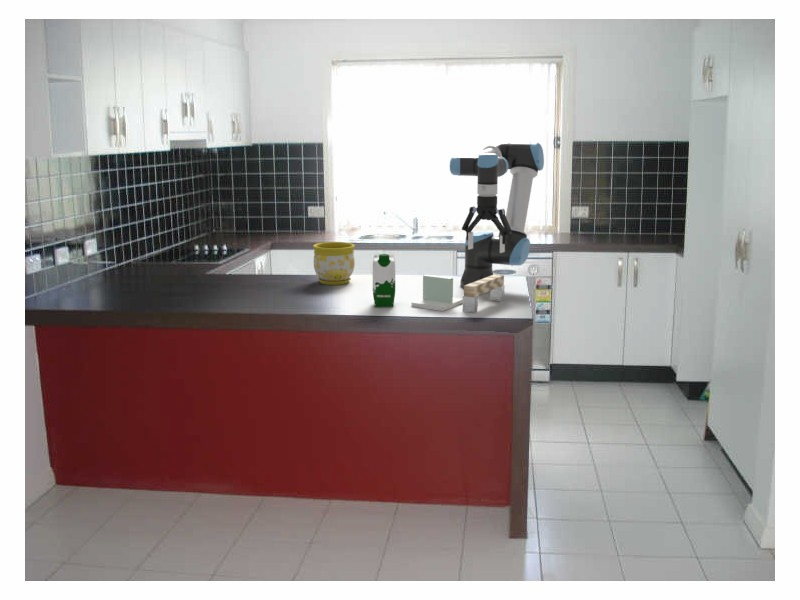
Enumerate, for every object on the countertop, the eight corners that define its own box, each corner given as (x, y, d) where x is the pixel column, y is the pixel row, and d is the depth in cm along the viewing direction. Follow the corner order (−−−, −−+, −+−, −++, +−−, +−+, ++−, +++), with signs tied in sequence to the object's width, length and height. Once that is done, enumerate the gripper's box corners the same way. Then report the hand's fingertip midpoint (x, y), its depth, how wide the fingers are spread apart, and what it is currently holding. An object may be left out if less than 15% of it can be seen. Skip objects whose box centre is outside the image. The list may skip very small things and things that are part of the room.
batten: (494, 284, 330) (494, 274, 329) (503, 285, 327) (504, 275, 327) (463, 296, 308) (463, 285, 307) (473, 297, 306) (473, 286, 305)
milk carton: (372, 307, 315) (372, 256, 311) (372, 302, 324) (372, 252, 320) (395, 307, 316) (395, 256, 311) (395, 302, 325) (395, 252, 320)
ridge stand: (432, 298, 331) (432, 271, 329) (463, 302, 324) (463, 275, 321) (411, 306, 318) (411, 278, 316) (443, 311, 311) (443, 282, 308)
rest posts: (492, 298, 331) (493, 284, 330) (504, 300, 328) (504, 285, 327) (462, 311, 310) (462, 295, 309) (474, 313, 307) (474, 297, 306)
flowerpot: (310, 279, 367) (309, 242, 364) (349, 277, 373) (349, 241, 369) (318, 287, 351) (317, 249, 347) (359, 285, 356) (359, 247, 352)
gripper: (453, 194, 315) (453, 248, 320) (512, 198, 302) (511, 255, 307) (463, 192, 321) (462, 245, 326) (521, 196, 308) (520, 252, 313)
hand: (486, 250), depth 317 cm, fingers open, 13 cm apart
